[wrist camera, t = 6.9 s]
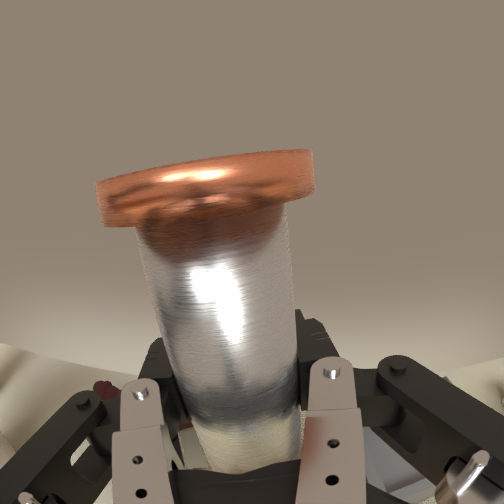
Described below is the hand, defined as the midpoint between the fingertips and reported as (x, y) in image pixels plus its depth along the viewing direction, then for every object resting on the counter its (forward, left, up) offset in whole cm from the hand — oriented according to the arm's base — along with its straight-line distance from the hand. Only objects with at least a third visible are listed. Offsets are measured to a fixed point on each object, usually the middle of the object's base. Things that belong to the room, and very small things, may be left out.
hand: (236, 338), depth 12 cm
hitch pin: (0, -3, -10) cm, 10 cm away
